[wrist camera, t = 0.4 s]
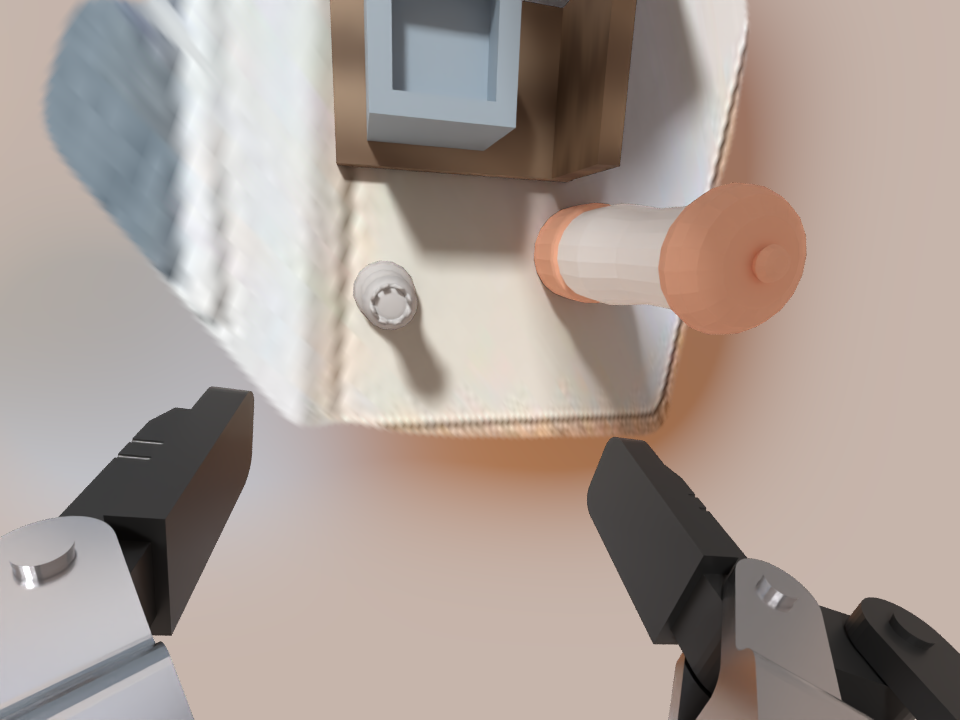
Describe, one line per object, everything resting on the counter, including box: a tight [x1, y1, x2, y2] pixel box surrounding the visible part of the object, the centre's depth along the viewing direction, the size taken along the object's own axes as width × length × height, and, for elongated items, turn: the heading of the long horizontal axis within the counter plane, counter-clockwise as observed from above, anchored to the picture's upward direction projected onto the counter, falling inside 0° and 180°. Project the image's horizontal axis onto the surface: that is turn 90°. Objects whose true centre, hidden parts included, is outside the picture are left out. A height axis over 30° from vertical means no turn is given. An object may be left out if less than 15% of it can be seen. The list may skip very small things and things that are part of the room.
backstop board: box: [330, 0, 637, 182], centre depth 28 cm, size 11×17×8 cm, turn 88°
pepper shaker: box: [534, 182, 806, 334], centre depth 28 cm, size 7×7×19 cm
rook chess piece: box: [353, 261, 417, 330], centre depth 30 cm, size 4×4×8 cm
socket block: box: [364, 0, 522, 151], centre depth 27 cm, size 8×8×7 cm
